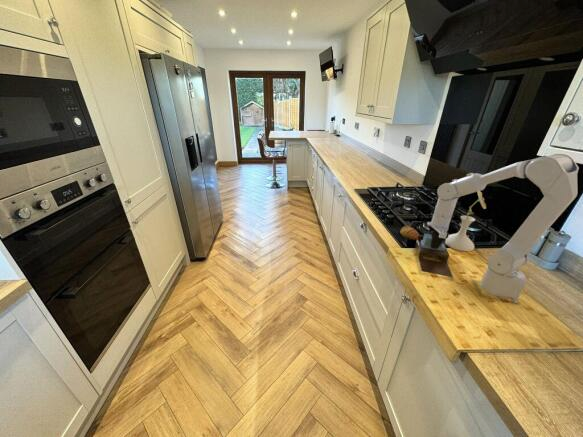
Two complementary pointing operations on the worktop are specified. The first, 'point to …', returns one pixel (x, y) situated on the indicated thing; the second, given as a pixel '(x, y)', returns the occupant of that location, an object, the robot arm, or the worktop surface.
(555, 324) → the worktop surface
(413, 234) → the pastry
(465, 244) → the flower in vase
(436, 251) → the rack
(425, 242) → the blue-grey block
